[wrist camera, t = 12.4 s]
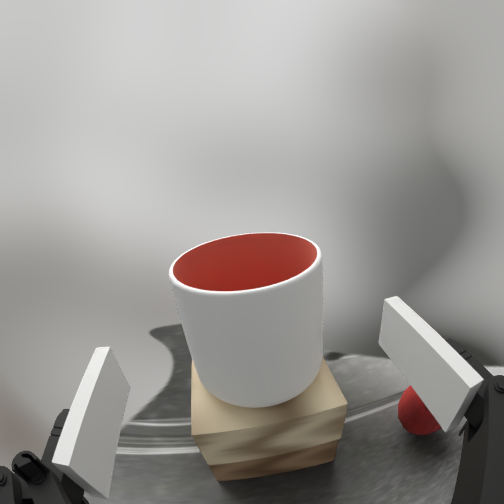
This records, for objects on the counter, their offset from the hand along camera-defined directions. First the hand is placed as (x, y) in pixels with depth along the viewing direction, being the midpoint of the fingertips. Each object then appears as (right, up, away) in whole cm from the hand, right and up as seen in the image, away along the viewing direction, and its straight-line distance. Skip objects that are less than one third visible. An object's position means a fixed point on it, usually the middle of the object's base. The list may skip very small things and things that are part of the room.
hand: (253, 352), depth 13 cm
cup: (+1, -5, +10) cm, 11 cm away
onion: (+17, -14, +10) cm, 24 cm away
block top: (+1, -10, +11) cm, 15 cm away
